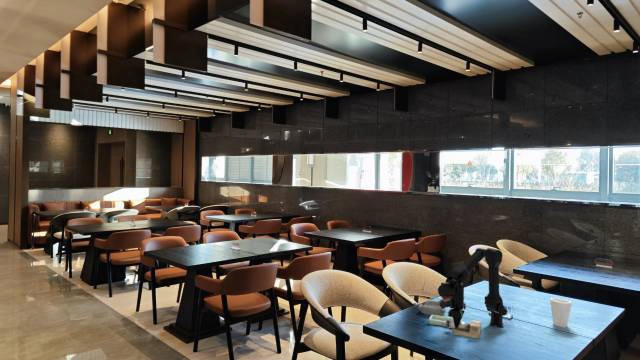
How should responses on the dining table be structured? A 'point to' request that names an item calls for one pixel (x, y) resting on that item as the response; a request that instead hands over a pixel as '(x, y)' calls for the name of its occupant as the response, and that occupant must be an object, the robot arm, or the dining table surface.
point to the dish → (432, 308)
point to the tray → (439, 320)
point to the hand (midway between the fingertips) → (456, 326)
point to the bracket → (474, 330)
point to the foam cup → (560, 311)
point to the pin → (461, 326)
